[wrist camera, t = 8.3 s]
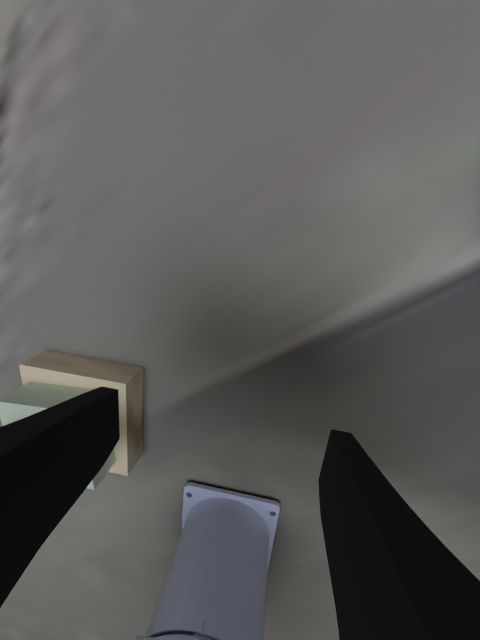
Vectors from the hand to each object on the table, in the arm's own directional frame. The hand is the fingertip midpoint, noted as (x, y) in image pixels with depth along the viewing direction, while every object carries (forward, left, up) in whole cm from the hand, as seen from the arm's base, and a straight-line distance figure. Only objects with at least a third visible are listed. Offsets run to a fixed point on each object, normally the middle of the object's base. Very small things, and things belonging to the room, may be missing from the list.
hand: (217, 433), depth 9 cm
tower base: (-8, +12, -11) cm, 18 cm away
